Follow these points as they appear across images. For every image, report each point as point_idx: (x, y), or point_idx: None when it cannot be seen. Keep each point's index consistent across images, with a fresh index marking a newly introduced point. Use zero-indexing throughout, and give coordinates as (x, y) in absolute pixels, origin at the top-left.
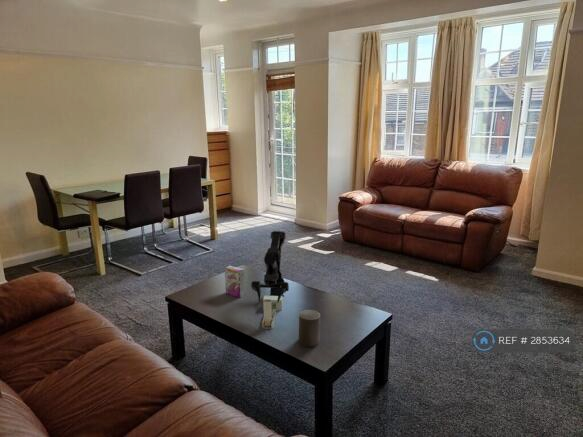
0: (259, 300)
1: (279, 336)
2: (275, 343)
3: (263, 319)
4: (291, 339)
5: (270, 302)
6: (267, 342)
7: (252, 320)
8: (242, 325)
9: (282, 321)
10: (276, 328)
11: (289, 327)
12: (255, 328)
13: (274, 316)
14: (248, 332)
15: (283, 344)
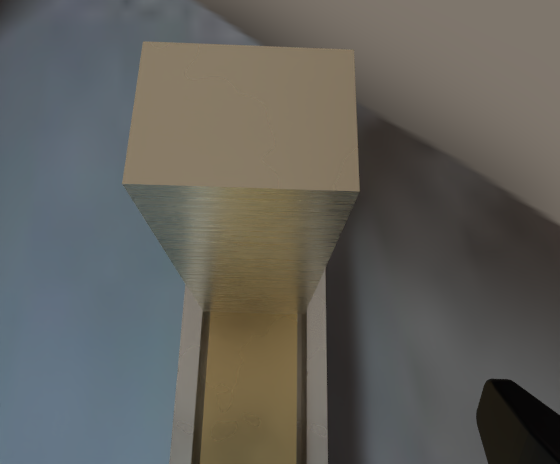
0: (511, 388)
1: (124, 120)
2: (161, 21)
3: (320, 320)
4: (12, 78)
5: (152, 56)
6: (231, 32)
7: (472, 442)
8: (549, 308)
9: (80, 441)
10: (156, 264)
11: (4, 293)
12: (388, 252)
13: (172, 442)
14: (439, 173)
15: (92, 10)
